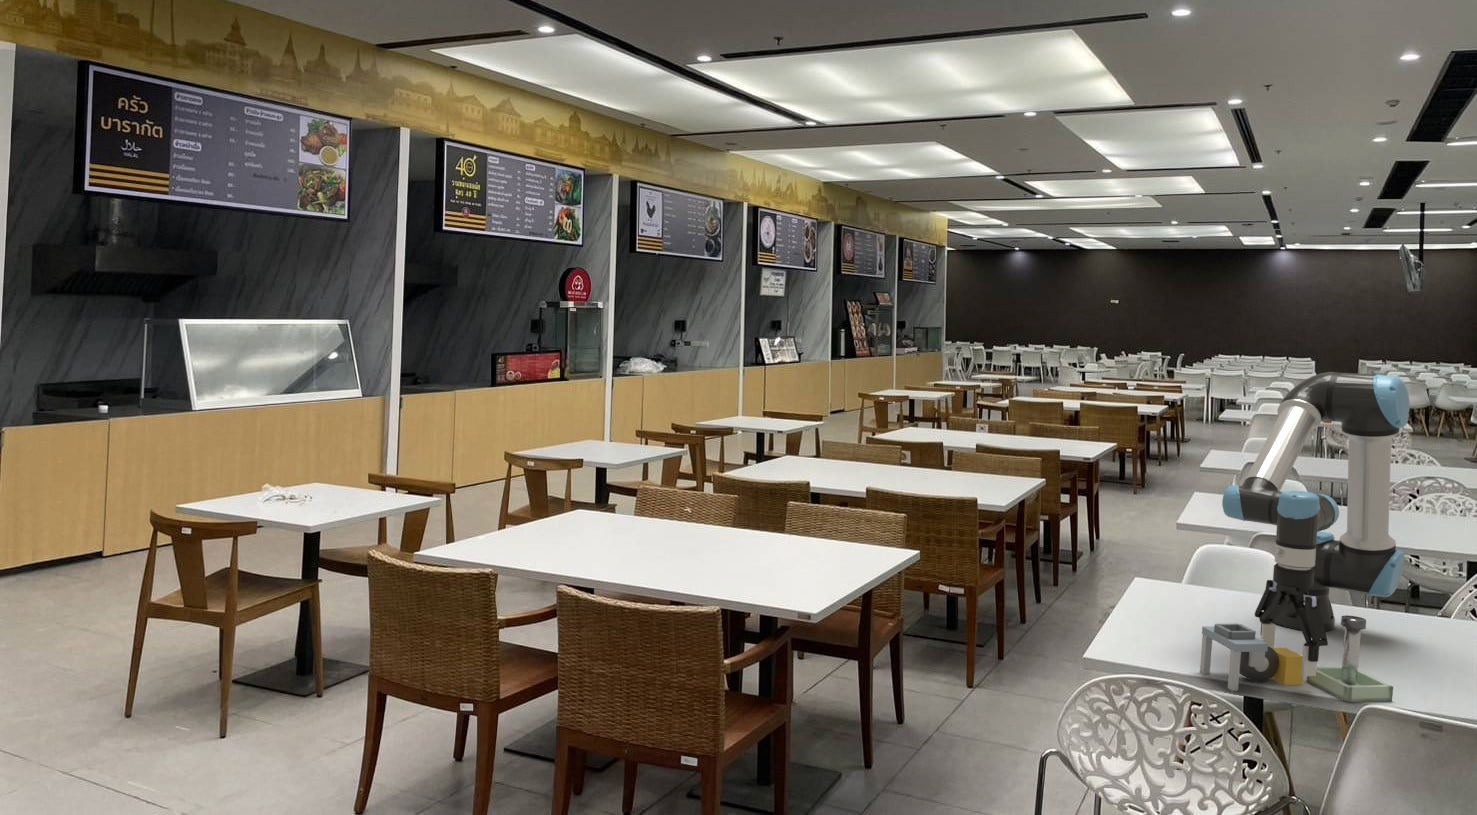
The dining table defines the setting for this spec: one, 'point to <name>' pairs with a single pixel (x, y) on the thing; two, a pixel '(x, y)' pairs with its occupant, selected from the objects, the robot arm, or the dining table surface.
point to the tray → (1361, 692)
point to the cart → (1240, 653)
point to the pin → (1351, 648)
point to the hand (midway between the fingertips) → (1287, 664)
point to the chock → (1288, 667)
